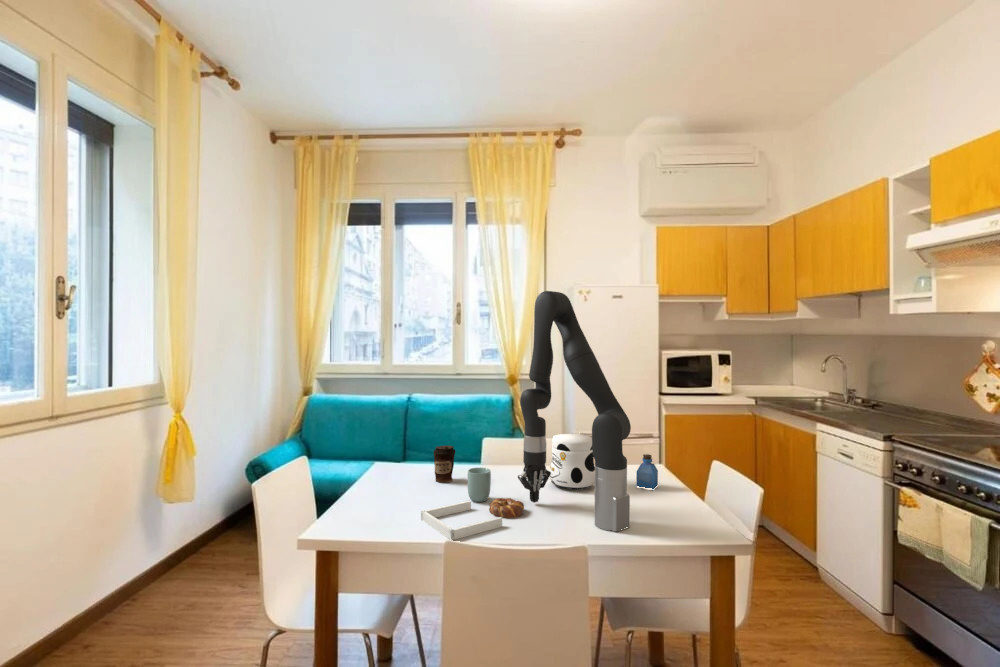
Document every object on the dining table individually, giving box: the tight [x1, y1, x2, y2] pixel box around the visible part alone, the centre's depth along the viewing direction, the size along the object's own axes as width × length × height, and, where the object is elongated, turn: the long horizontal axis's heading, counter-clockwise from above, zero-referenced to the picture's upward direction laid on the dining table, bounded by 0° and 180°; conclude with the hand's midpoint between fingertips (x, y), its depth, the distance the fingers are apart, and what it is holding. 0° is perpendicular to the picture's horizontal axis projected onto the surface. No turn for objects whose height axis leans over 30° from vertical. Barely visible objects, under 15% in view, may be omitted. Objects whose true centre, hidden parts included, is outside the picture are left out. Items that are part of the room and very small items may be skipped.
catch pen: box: [420, 500, 503, 541], centre depth 138 cm, size 18×17×2 cm
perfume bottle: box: [635, 453, 659, 489], centre depth 175 cm, size 6×6×12 cm
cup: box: [467, 467, 492, 503], centre depth 158 cm, size 8×8×10 cm
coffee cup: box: [433, 445, 456, 483], centre depth 180 cm, size 9×8×13 cm
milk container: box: [548, 433, 595, 491], centre depth 176 cm, size 17×17×18 cm
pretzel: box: [488, 497, 525, 519], centre depth 148 cm, size 12×11×4 cm
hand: (534, 501), depth 155 cm, fingers closed
